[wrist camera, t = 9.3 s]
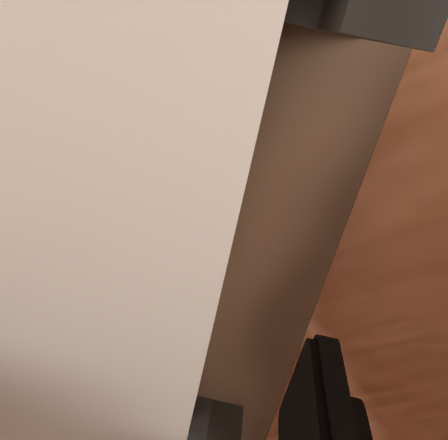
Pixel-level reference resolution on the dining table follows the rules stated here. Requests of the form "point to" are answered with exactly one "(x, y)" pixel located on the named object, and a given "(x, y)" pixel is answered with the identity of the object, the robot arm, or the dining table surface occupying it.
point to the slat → (120, 204)
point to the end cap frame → (302, 195)
